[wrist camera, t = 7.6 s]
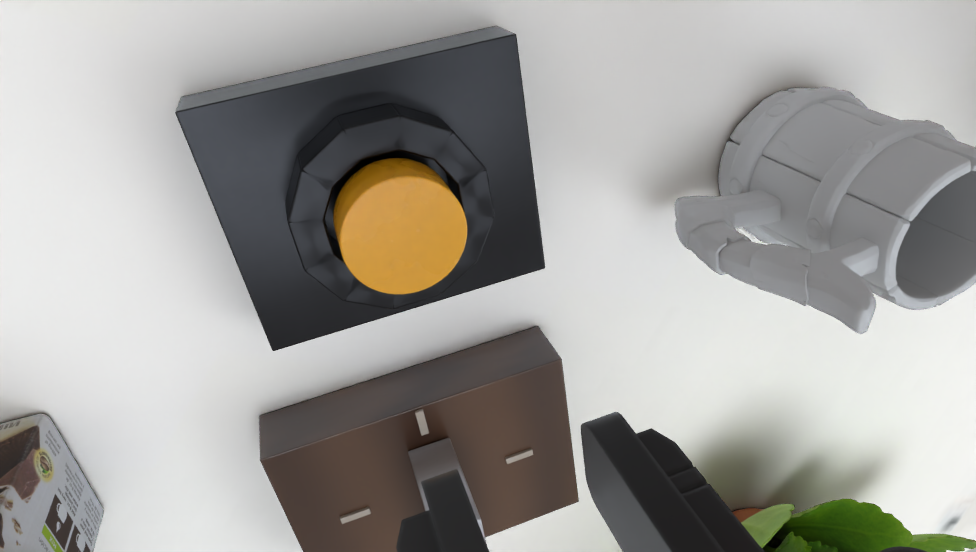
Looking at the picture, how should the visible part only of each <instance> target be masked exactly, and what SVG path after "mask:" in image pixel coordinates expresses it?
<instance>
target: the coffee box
mask: <svg viewBox="0 0 976 552" xmlns="http://www.w3.org/2000/svg"><path fill="white" fill-rule="evenodd" d="M102 516H103V508H102V506H101V504H100V503H99V501H98V499H97V497H96V496H95V494H94V492H93V490H92V489H91V487H90V485H89V484H88V482H87V480H86V478H85V476H84V475H83V473H82V471H81V470H80V468H79V466H78V464H77V463H76V461H75V459H74V458H73V456H72V454H71V452H70V451H69V449H68V447H67V445H66V444H65V442H64V440H63V439H62V437H61V435H60V433H59V432H58V430H57V428H56V427H55V425H54V424H53V422H52V420H51V419H50V418H49V416H47V415H44V414H37V415H32V416H28V417H24V418H20V419H17V420H13V421H9V422H5V423H2V424H0V552H93V550H94V546H95V542H96V538H97V535H98V531H99V527H100V524H101V521H102Z"/></svg>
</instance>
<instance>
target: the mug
mask: <svg viewBox="0 0 976 552" xmlns="http://www.w3.org/2000/svg"><path fill="white" fill-rule="evenodd" d="M730 138H731V139H732V140H733V141H734V142H731V141H727V143H726V146H725V149H724V152H723V154H722V157H721V161H720V167H719V175H718V181H719V189H720V194H721V196H715V197H709V196H690V197H681V198H678V199H677V200H676V201H675V215H676V232H677V235H678V237H679V240H680V241H681V243H682V244H683V245H684V246H685V247H686V248H687V249H689V250H691V251H692V252H693V253H695V254H696V256H697V257H698V258H699V259H700V260H702V261H703V262H704V263H705V264H706V265H707V266H708V267H709V268H711V269H712V270H713V271H715V272H716V273H718V274H720V275H723V274H729V275H731V276H732V277H734V278H736V279H738V280H740V281H742V282H745V283H747V284H750V285H753V286H756V287H758V288H759V289H761V290H764V291H767V292H770V293H773V294H776V295H779V296H782V297H785V298H788V299H790V300H793V301H795V302H798V303H800V304H802V305H804V306H806V305H809V306H811V307H813V308H815V309H817V310H820V311H822V312H824V313H826V314H829V315H831V316H833V317H835V318H836V319H838V320H840V321H841V322H843V323H844V324H845V325H847V326H848V327H849V328H851V329H852V330H853V331H855V332H857V333H860V334H862V333H864V332H866V331H867V329H868V327H869V324H870V321H871V319H872V316H873V314H874V311H875V308H876V300H875V298H874V296H873V293H875V294H876V295H878V296H880V297H882V298H884V299H886V300H889V301H891V302H893V303H895V304H897V305H899V306H901V307H904V308H907V309H912V310H921V309H928V308H931V307H935V306H936V305H941V304H943V303H944V302H946V301H948V300H949V299H951V298H952V297H954V296H956V295H958V294H960V293H962V292H964V291H965V290H966V289H968V288H969V287H971V286H972V285H973V284H974V283H975V282H976V148H975V147H972V146H970V145H967V144H964V143H961V142H958V141H957V140H956V139H955V138H954V137H953V136H952V134H951V133H950V132H949V131H947V130H945V128H944V127H943V126H942V125H939V124H937V123H934V122H931V121H927V120H926V121H916V120H898V119H895V118H892V117H889V116H886V115H883V114H881V113H878V112H875V111H872V110H870V109H868V108H867V107H866V106H865V105H864V104H863V103H862V102H861V101H860V100H859V99H857V98H855V96H854V95H853V94H852V93H851V92H849V91H845V90H838V89H834V88H830V87H821V88H811V89H808V88H792V89H787V91H779V92H777V93H774V94H772V95H771V96H769V97H767V98H766V99H764V100H762V102H761V103H760V104H759V105H757V106H756V107H755V108H754V109H753V110H752V111H751V112H750V113H748V114H747V116H746V117H745V118H744V119H743V120H742V121H741V122H740V123H739V124H738V125H737V126H736V128H735V129H734V131H733V133H732V134H731V136H730ZM735 142H736V143H735ZM740 227H743V228H744V229H745V230H746V231H747V232H749V233H750V234H752V235H753V236H755V237H756V238H757V239H759V240H760V241H762V242H764V243H772V244H769V245H763V244H758V243H754V242H751V240H750V239H749V238H748V237H746V236H745V235H743V234H741V233H739V232H738V231H736V230H735V229H734V228H740ZM781 244H786V245H787V246H785V245H781ZM872 292H873V293H872Z"/></svg>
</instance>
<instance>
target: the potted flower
mask: <svg viewBox="0 0 976 552" xmlns="http://www.w3.org/2000/svg"><path fill="white" fill-rule="evenodd" d="M794 509H795V507H794V505H793V504H778V505H774V506H771V507H769V508H766V509H757V508H746V509H740V510H736V511H734V512H732V513H733V514H734V515H735V516H736V517H737V519H738V520H739V521H740V522H741V524H742V525H743V526H744V527H745V528H746V530H747V531H748V532H749V533H750V535H751V536H752V537H753V538H754V539H755V541H756V542H757V543H758V544H759V545H760V546H761V548H762V549H763V550H764V551H765V552H879V551H882V550H884V549H886V548H890V547H898V546H903V547H912V548H917V549H921V550H924V551H927V552H946V550H951V551H964V550H965V549H964V548H969V549H974V548H976V541H975V540H971V539H966V538H962V537H957V536H952V535H947V534H919V535H912V534H911V532H910V531H908V530H907V529H906V528H904V526H903V524H902V523H901V522H900V521H899V520H898V519H896V518H895V517H894V516H893V515H892V514H889V513H884V512H882V510H881V508H880V507H878V506H876V505H875V504H871V503H866V502H863V503H859V502H857V501H856V500H852V499H840V500H833V501H830V502H826V503H823V504H819V505H816V506H814V507H812V508H809V509H807V510H805V511H802V512H799V513H796V514H793V515H792V512H791V511H793V510H794Z"/></svg>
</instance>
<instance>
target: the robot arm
mask: <svg viewBox="0 0 976 552" xmlns="http://www.w3.org/2000/svg"><path fill="white" fill-rule="evenodd" d="M581 437H582V446H583V455H584V464H585V474H586V480H587V484H588V487H589V490H590V493H591V496H592V498H593V500H594V503H595V505H596V507H597V508H598V510H599V512H600V513H601V515H602V517H603V519H604V520H605V522H606V524H607V525H608V527H609V529H610V530H611V532H612V534H613V535H614V537H615V539H616V540H617V542H618V544H619V545H620V547H621V549H622V551H623V552H765V551H764V550H763V549H762V548H761V546H760V545H759V544H758V543H757V542H756V541H755V539H754V538H753V537H752V536H751V535H750V533H749V532H748V531H747V530H746V528H745V527H744V526H743V525H742V524H741V522H740V521H739V520H738V519H737V517H736V516H735V515H734V514H733V513H732V511H731V510H730V509H729V508H728V506H727V505H726V504H725V503H724V502H723V500H722V499H721V498H720V497H719V495H718V494H717V493H716V492H715V491H714V489H713V488H712V487H711V486H710V484H707V483H706V480H705V478H704V477H703V476H702V475H701V473H700V472H699V471H698V470H697V469H696V467H693V465H692V462H691V461H690V460H689V459H688V458H687V456H686V455H685V454H684V453H683V451H682V450H681V449H680V448H679V447H678V445H677V444H676V443H675V442H673V441H672V440H670V439H668V438H667V437H665V436H663V435H662V434H660V433H658V432H657V431H655V430H653V429H652V428H651V429H649V430H646V431H643V432H640V433H638V434H636V433H635V432H634V431H633V429H632V428H631V427H630V425H629V424H628V423H627V421H626V420H625V419H624V418H623V416H622V415H621V414H620V413H618V412H614V413H611V414H608V415H606V416H603V417H600V418H597V419H594V420H592V421H589V422H586V423H583V424H582V425H581ZM421 484H422V488H423V491H424V494H425V498H426V501H427V504H428V508H429V510H427V511H425V512H422V513H419V514H417V515H414V516H411V517H408V518H406V519H403V520H402V521H401V526H400V531H399V536H398V541H397V545H396V549H397V552H489V550H488V548H487V545H486V542H485V540H484V537H483V535H482V532H481V529H480V527H479V524H478V521H477V519H476V516H475V514H474V511H473V508H472V506H471V503H470V500H469V498H468V495H467V493H466V490H465V487H464V485H463V482H462V479H461V477H460V474H459V472H458V470H457V469H454V470H451V471H448V472H446V473H443V474H440V475H437V476H434V477H432V478H429V479H426V480H423V481H421ZM879 552H927V551H924V550H921V549H917V548H912V547H903V546H898V547H890V548H886V549H884V550H882V551H879Z"/></svg>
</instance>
